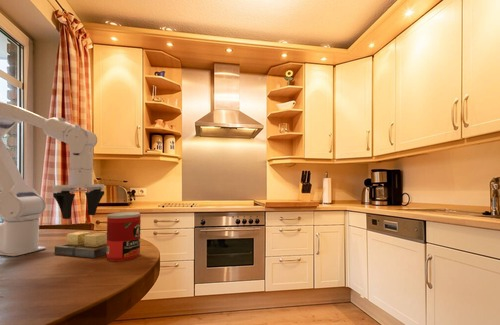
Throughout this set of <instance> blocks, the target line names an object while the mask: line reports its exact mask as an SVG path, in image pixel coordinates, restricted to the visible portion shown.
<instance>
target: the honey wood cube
mask: <svg viewBox="0 0 500 325" xmlns="http://www.w3.org/2000/svg"><path fill="white" fill-rule="evenodd" d="M106 245H107V232H106V233H105V232H95V233H91V234H90V235H86V236H85V244H84V248H94V249H96V248H99V247H103V246H106Z"/></svg>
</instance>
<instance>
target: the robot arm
mask: <svg viewBox="0 0 500 325" xmlns="http://www.w3.org/2000/svg"><path fill="white" fill-rule="evenodd" d="M22 122H23V123H26V124H29V125H31V126H34V127H37V128H40V129H42V131H43V133H44V134H45V135H46V136H47V137H50V138H53V139H55V140H57V141H60V142H63V143H65V144H67V145H68V146H69V167H68V168H69V170H68V172H69V174H68V184H55V185H52V192H51V193H52V195H53V198H54V200H55V201H56V203H57V205H58V207H59V209H60V212H61V217H62V219H63V220H71V218H72V212H73V211H72V209H73V203H74V199H75V196H76V194H75V193H76V192H78V193H79V192H85V193H84V194H85V197H86V203H87V204H86V206H87V215H88V216H95V215H96V212H97V209H98V206H99V203H100V201H101V200H102V198H103V197H104V195H105V183H104V184H102V183H101V184H98V183H97V184H93V177H94V176H93V172H94V168H93V167H94V148H95V147H96V146H97V144H98V137H97V135H96V134H95V133H94V132H92V131H91V130H88V129H85V128H82V125H79V124H72V123H70V122H68V121H67V119H66V118H64V117H61V116H58V117H51V118H45V117H44V116H41V115H39V114H37V113H34V112H32V111H29V110H28V109H25V108H23V107H20V106H16V105H13V104H10V103H5V102H3V101H0V217H1V218H2V219H3V222H2V223H1V224H0V256H9V257H17V256H22V255H25V254H30V253H33V252H39V251H42V250H45V249H47V247H46V246H40V245H39V236H40V232H39V231H40V218H41V216H42V215H41V214H43V213H44V212H45V210H46V207H47V203H46V202H47V201H46V200H45V198H44V197H42V196H41V195H40V194H39V193H38V192H37V190H36V189H35V188H34V187H31V186H29V185H28V184H27V183H26V182H25V180H24V178H23V176H22V174H21V172H20V170H19V168H18V167H17V165H16V163H15V161H14V159H13V158H12V156H11V155H12V154H10V152H9V150H8V148H7V147H6V146H7V145H6V144H5V142H4V140H3V139H2V137H3V136H5V135H7V133H8V132H10V130H11V129H12V128H14V126H15V125H16V124H21V123H22ZM83 188H84V189H83ZM72 192H74V193H72Z"/></svg>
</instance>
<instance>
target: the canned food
mask: <svg viewBox="0 0 500 325" xmlns="http://www.w3.org/2000/svg"><path fill="white" fill-rule="evenodd" d="M141 221H142V220H141V212H139V211H137V212H136V211H122V212H121V211H120V212H114V213H108V214H107V220H106V233H107V254H106V257H107V260H108V261H111V262H123V261H124V262H125V261H129V260H130V261H131V260H133V259H136V258H137V257H139V256H140V253H141V223H142V222H141Z"/></svg>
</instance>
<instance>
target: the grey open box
mask: <svg viewBox="0 0 500 325" xmlns="http://www.w3.org/2000/svg"><path fill="white" fill-rule="evenodd" d="M90 234H92V232H91V231H81V230H80V231H75V232H70V233H66V243H63V244H59V245H56V246H54V255H61V256H70V257H80V258H89V259H96V258H99V257H102V256H105V255H107V245H106V246H103V247H99V248H96V249H94V248H84V244H85V236H86V235H90Z"/></svg>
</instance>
